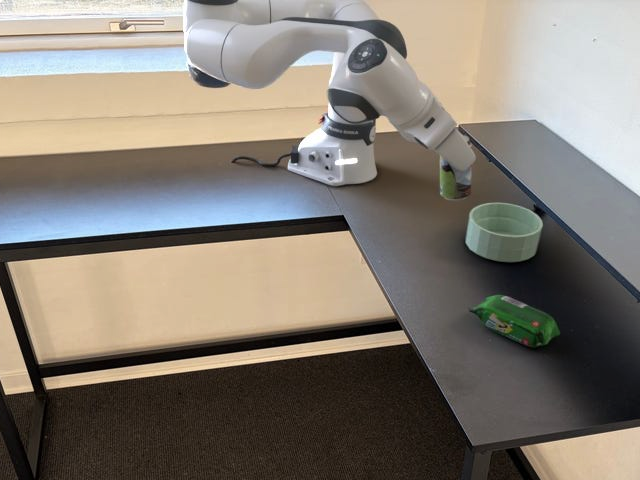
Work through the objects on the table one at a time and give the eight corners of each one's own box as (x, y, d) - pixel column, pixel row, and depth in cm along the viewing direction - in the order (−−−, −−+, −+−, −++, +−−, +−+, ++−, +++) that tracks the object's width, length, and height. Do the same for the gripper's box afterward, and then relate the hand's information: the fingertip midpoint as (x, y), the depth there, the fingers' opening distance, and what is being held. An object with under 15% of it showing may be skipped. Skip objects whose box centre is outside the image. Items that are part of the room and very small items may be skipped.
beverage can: (467, 207, 140) (478, 147, 133) (430, 200, 141) (438, 141, 134) (471, 193, 145) (482, 134, 137) (435, 186, 146) (444, 128, 138)
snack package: (484, 307, 138) (488, 284, 135) (559, 340, 131) (566, 316, 127) (464, 323, 133) (468, 300, 130) (541, 358, 126) (548, 334, 123)
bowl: (456, 253, 153) (460, 225, 149) (476, 223, 164) (481, 196, 160) (527, 271, 149) (533, 243, 145) (542, 239, 160) (549, 212, 156)
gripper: (381, 108, 138) (421, 152, 148) (431, 150, 124) (472, 195, 133) (404, 83, 137) (443, 128, 146) (458, 121, 123) (497, 170, 132)
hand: (457, 161), depth 140 cm, fingers closed on beverage can, 5 cm apart
